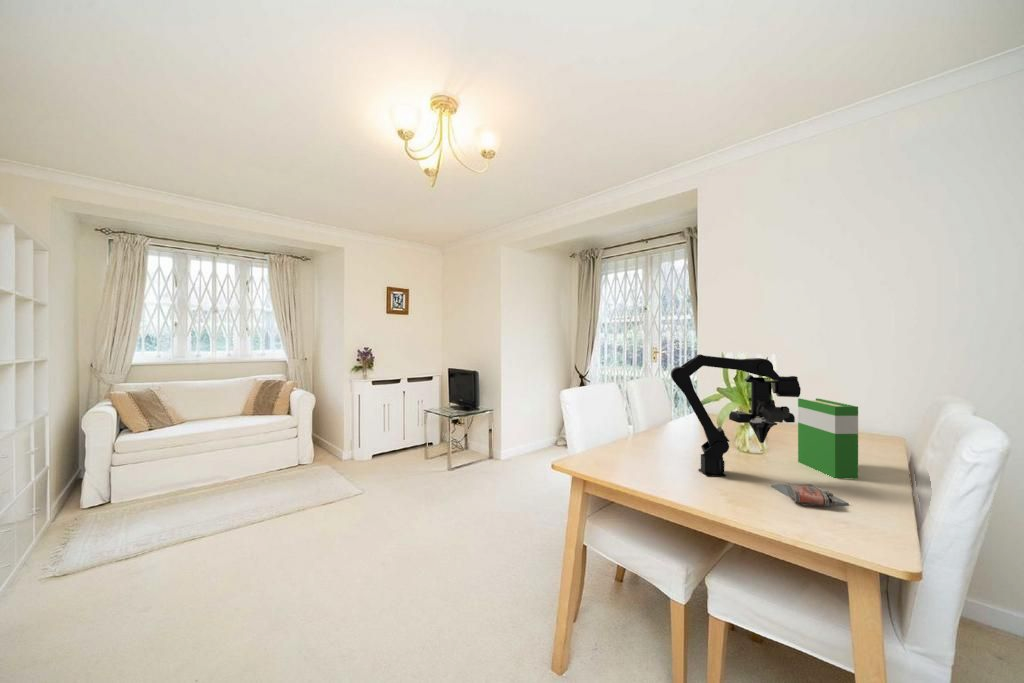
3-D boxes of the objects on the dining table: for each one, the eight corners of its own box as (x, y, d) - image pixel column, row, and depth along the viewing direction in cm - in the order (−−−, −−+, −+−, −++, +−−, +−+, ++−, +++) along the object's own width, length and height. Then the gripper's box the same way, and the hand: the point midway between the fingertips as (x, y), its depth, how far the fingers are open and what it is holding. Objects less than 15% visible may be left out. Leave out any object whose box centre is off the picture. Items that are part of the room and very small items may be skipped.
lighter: (786, 481, 116) (827, 485, 112) (786, 492, 116) (827, 496, 113) (796, 493, 108) (840, 498, 105) (795, 504, 109) (839, 510, 105)
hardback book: (798, 461, 147) (798, 398, 147) (818, 462, 146) (818, 398, 146) (835, 478, 129) (835, 406, 129) (858, 478, 129) (858, 406, 129)
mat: (803, 505, 109) (803, 503, 109) (770, 486, 123) (770, 484, 123) (848, 505, 109) (848, 503, 109) (810, 486, 123) (810, 484, 123)
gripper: (747, 400, 122) (748, 449, 122) (807, 399, 122) (807, 449, 122) (728, 394, 133) (728, 440, 133) (782, 394, 133) (783, 440, 133)
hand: (761, 442), depth 130 cm, fingers closed
